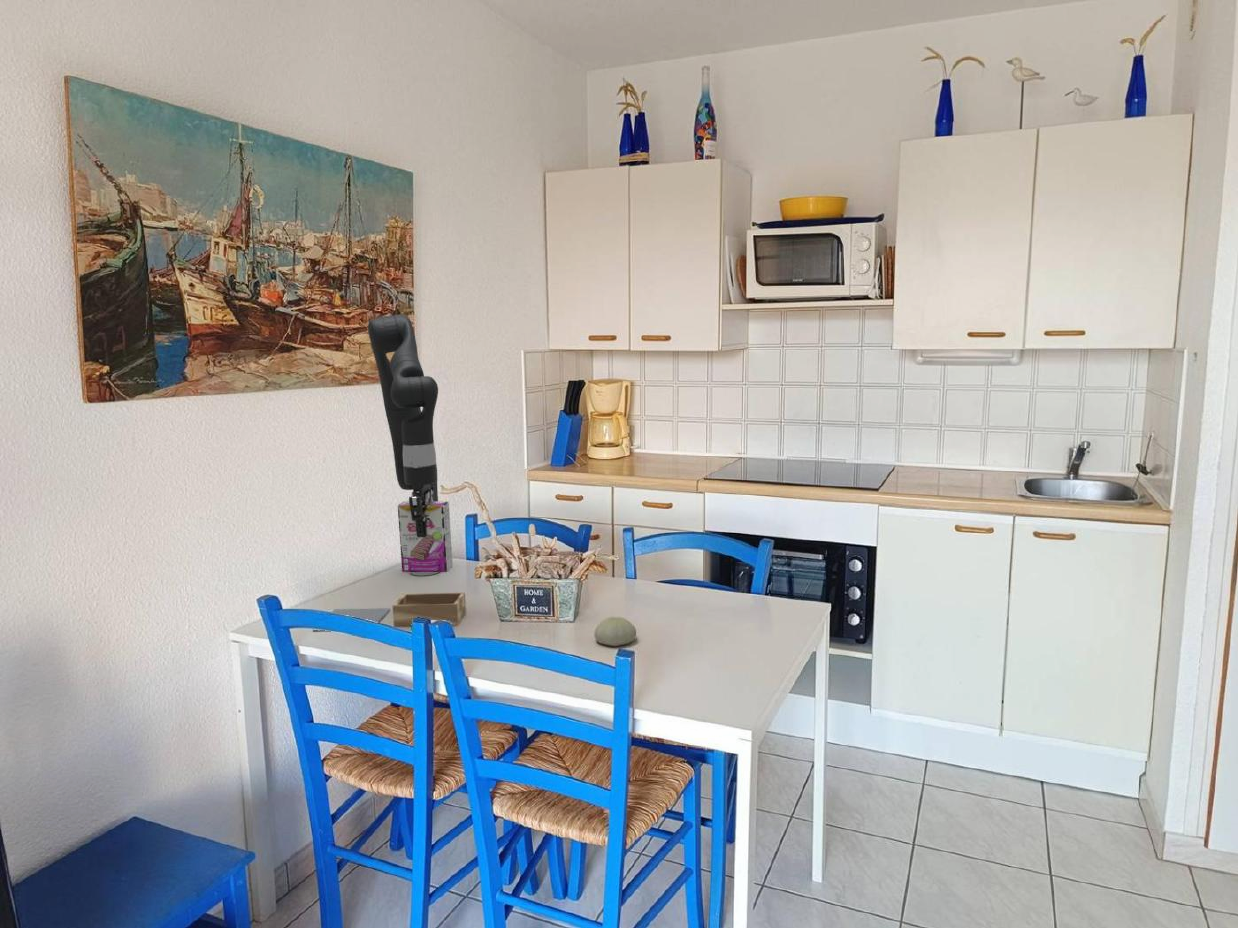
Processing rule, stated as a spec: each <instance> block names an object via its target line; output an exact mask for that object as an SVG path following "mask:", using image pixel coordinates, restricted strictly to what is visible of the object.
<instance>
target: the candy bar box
mask: <svg viewBox="0 0 1238 928" xmlns="http://www.w3.org/2000/svg"><path fill="white" fill-rule="evenodd" d="M424 506H425V505H423V506H422V508H423V507H424ZM427 507H428V510H427V511H426V529H427V536H426V537H417V532H416V522H415V521H412V517H411V510H410V503H409V500H405V501H402V502H401V503H398V505H397V517H398V531H399V532H398V533H399V544H400V545H399V546H400V558H401V559H400V560H401V571H402V573H410V572H439V573H448V572H450V569H452V568H453V554H452V553H453V550H452V549H453V548H452V536H451V531H452V530H451V518H450V502H449V501H448V500H438V501H432V502H430V501H429V502H428V505H427ZM418 515H420V513H419V512H418Z"/></svg>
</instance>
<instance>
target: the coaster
mask: <svg viewBox="0 0 1238 928" xmlns="http://www.w3.org/2000/svg"><path fill="white" fill-rule="evenodd" d="M331 612H332V613H336V614H342V615H349V616H354V617H358V618H360V619H368V620H372V621H375V622H378V624H379V623H381V621H382V620H383V619H384V618H385V617H386V616H387V615H388V614H389V613H390V612H391V607H387V608H384V607H383V608H381V607H380V608H378V607H377V608H336V609H333V610H332V611H331ZM312 632H319V631H318V630H313V629H312Z"/></svg>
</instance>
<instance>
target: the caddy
mask: <svg viewBox="0 0 1238 928" xmlns="http://www.w3.org/2000/svg"><path fill="white" fill-rule="evenodd" d="M466 603H467V602H466V592H433V593H432V592H431V593H428V592H427V593H425V592H424V593H403V594H402V595H401V597H399V599H398V600H397V601H396V602H395V603H394V604H393V605H392V616H393V617H392V618H393V626H394V627H412V626H411V624H412V620H413V619H414V618H417V617H420V618H427V619H430V620H446V621H450V622H451V623H452V625H451V626H459V624H460V622H461V621H462V619H463V618H464V616H466V615H465V614H466V613H467V604H466Z"/></svg>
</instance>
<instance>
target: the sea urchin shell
mask: <svg viewBox="0 0 1238 928" xmlns="http://www.w3.org/2000/svg"><path fill="white" fill-rule="evenodd" d="M636 637H637V630H636V626H634V624H633V623H632V622H631V621H629V620H627V619H626V618H623V617H621V616H620V617H619V616H610V617H607V618H606V619H605V618H604V620H603V619H602V621H600V623H599V624H597V625H596V627H595V629H594V638H595V640H596V641H597V642H598V643H600V644H602V645H606V646H611V647H618V646H623V645H628V644H630V643H632V642H634V640H635V639H636Z"/></svg>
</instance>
